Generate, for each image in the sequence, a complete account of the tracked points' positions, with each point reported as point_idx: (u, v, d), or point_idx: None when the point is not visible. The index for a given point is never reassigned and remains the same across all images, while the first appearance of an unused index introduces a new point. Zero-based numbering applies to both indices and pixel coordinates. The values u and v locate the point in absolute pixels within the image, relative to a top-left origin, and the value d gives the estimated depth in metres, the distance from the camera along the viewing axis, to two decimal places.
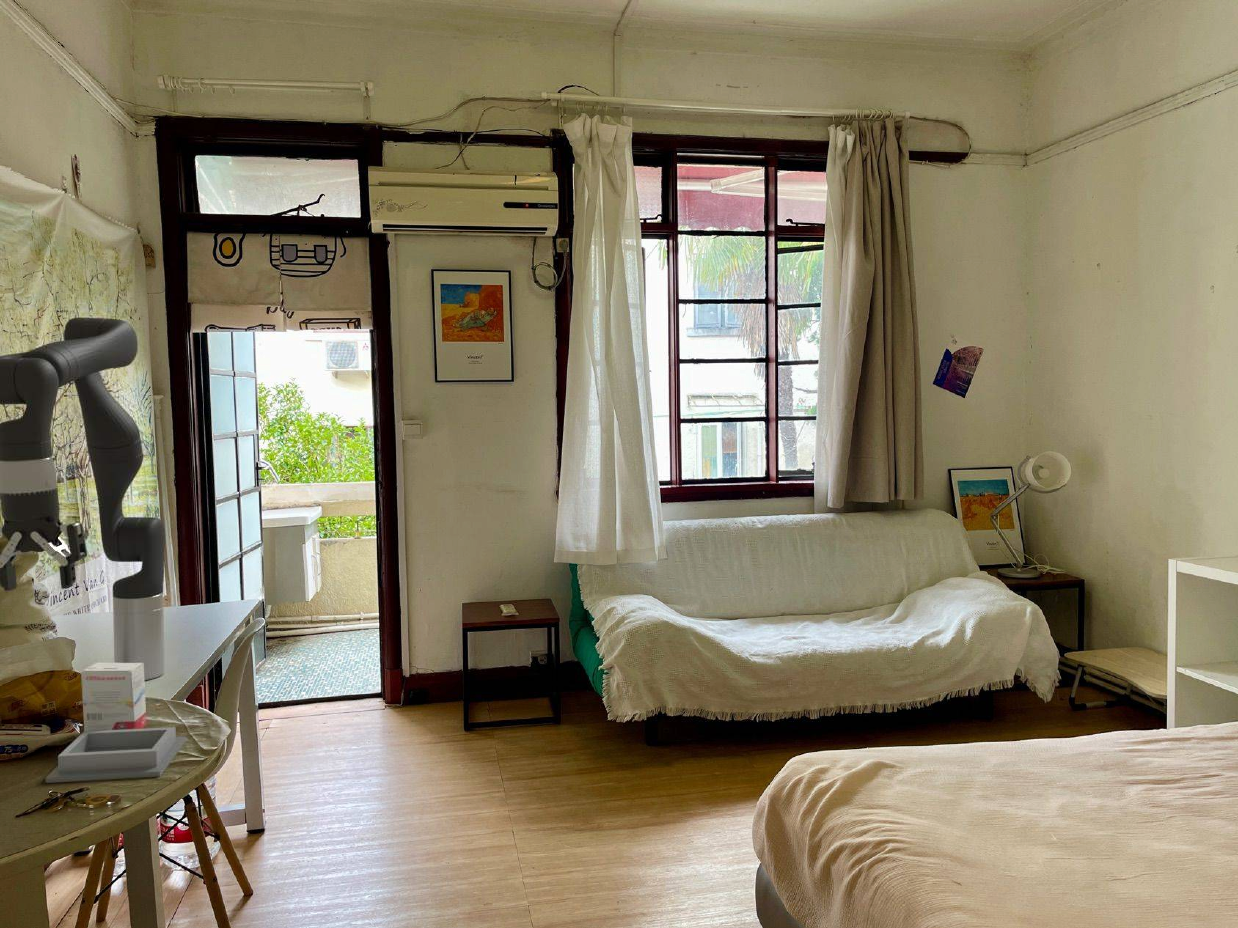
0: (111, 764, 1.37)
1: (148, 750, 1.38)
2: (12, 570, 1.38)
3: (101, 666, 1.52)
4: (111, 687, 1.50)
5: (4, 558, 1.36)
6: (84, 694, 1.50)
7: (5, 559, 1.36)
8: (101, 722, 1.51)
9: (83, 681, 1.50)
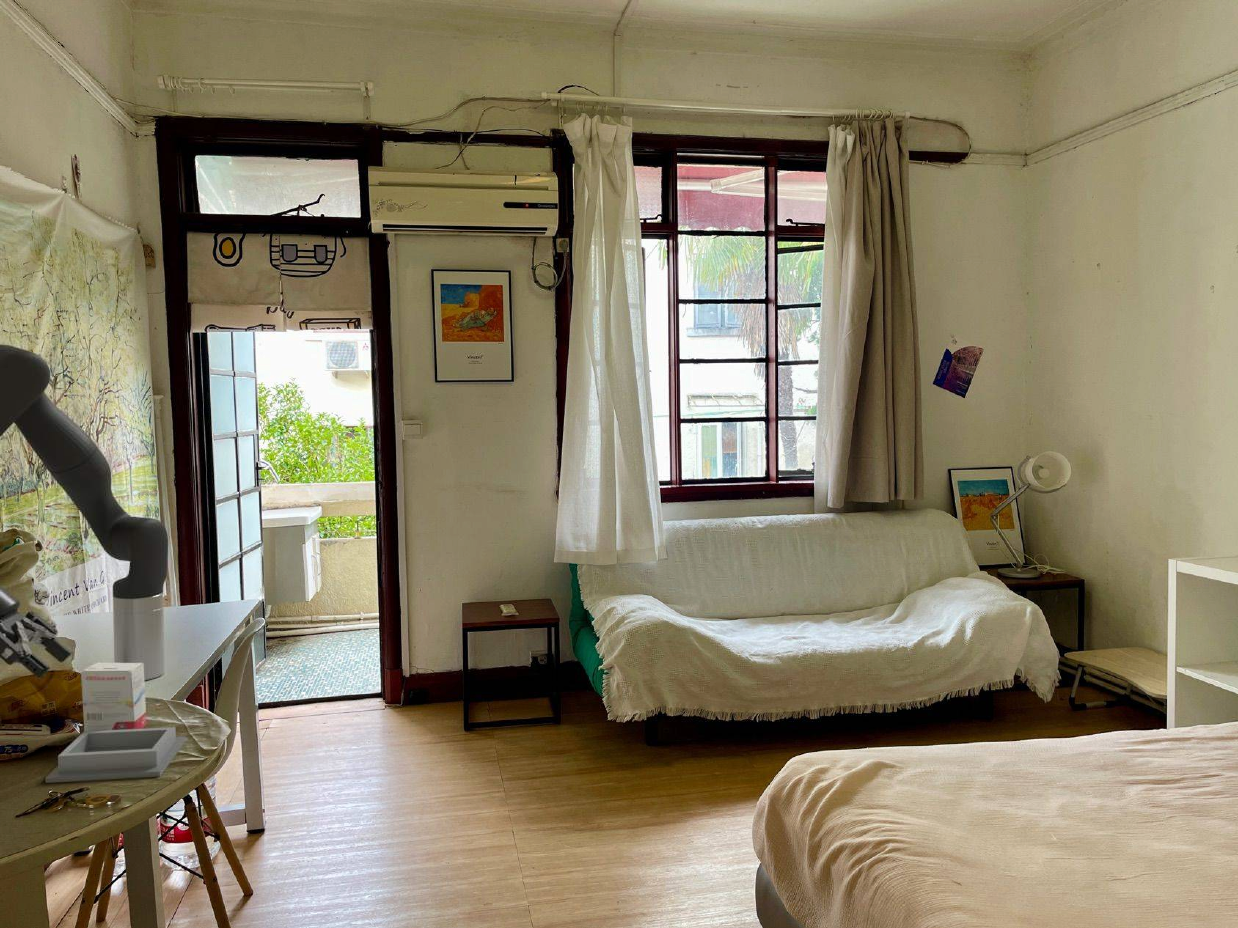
0: (111, 764, 1.37)
1: (148, 750, 1.38)
2: (54, 645, 1.54)
3: (101, 666, 1.52)
4: (111, 687, 1.50)
5: None
6: (84, 694, 1.50)
7: None
8: (101, 722, 1.51)
9: (83, 681, 1.50)
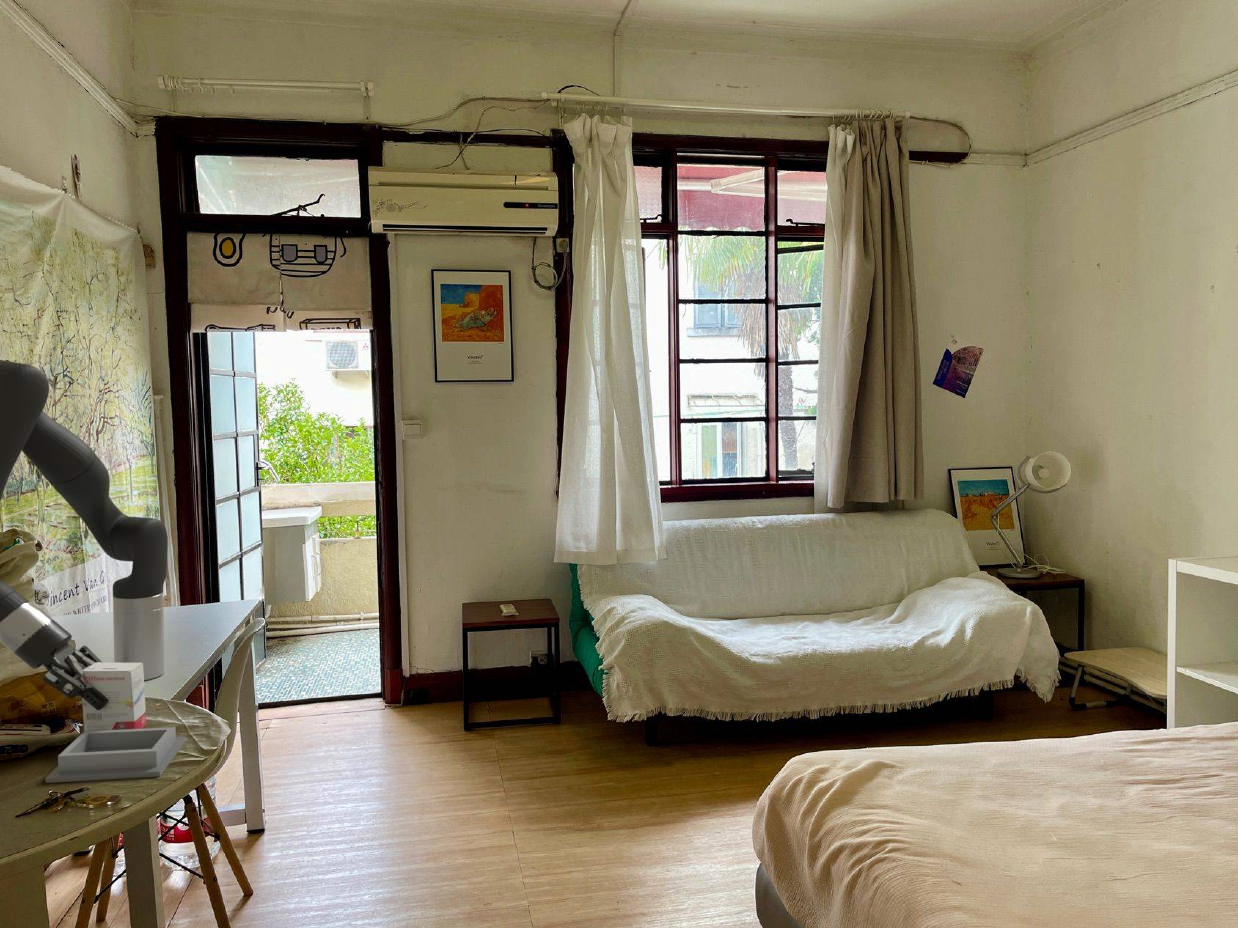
0: (111, 764, 1.37)
1: (148, 750, 1.38)
2: None
3: (100, 666, 1.52)
4: (111, 687, 1.50)
5: None
6: None
7: None
8: (101, 722, 1.51)
9: None
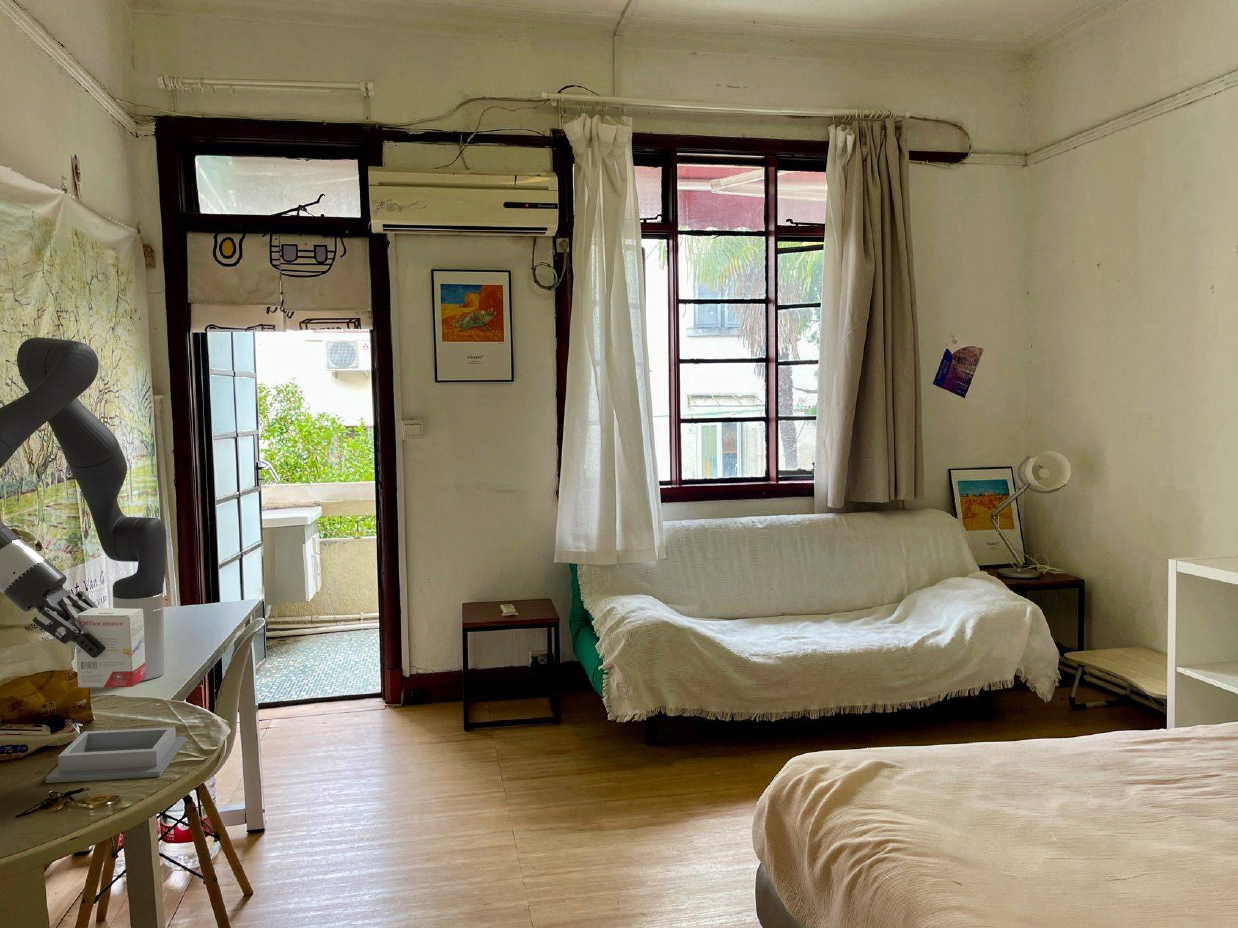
0: (111, 764, 1.37)
1: (148, 750, 1.38)
2: None
3: (97, 611, 1.40)
4: (107, 633, 1.38)
5: None
6: None
7: None
8: (97, 671, 1.38)
9: None
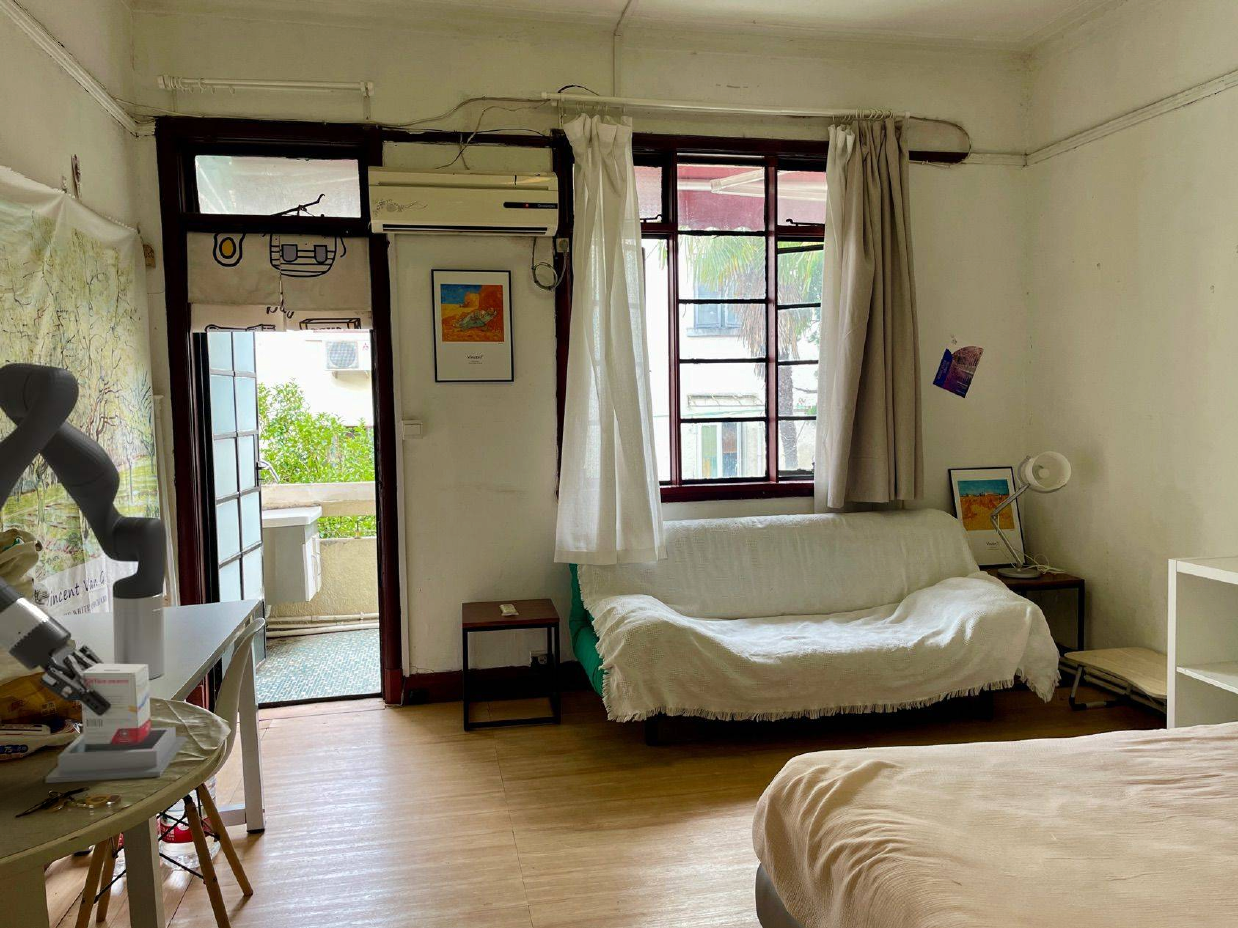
0: (111, 764, 1.37)
1: (148, 750, 1.38)
2: None
3: (102, 668, 1.40)
4: (113, 691, 1.38)
5: None
6: None
7: None
8: (102, 728, 1.38)
9: None
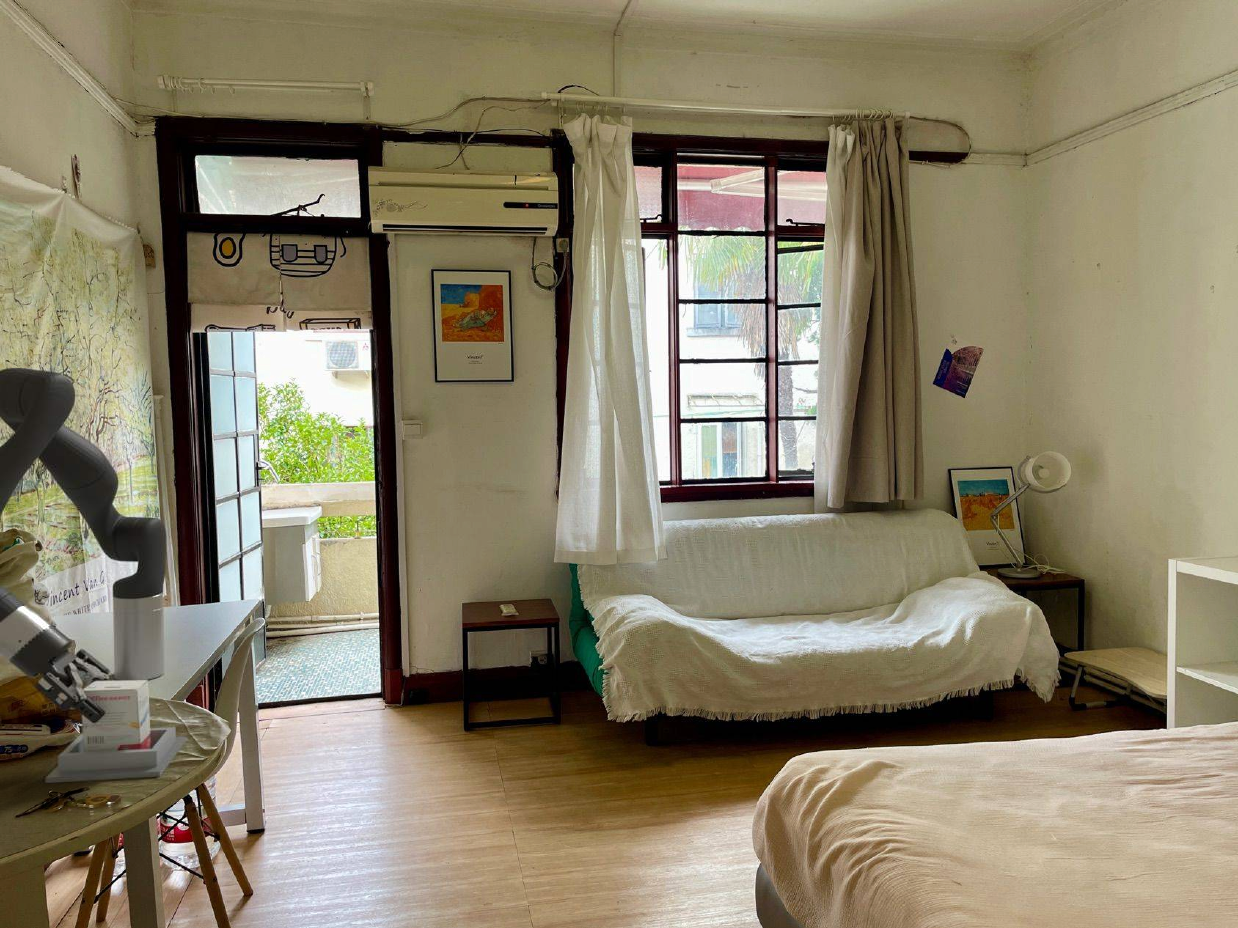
0: (111, 764, 1.37)
1: (148, 750, 1.38)
2: None
3: (102, 685, 1.40)
4: (115, 707, 1.39)
5: None
6: (84, 716, 1.38)
7: None
8: (104, 745, 1.39)
9: None
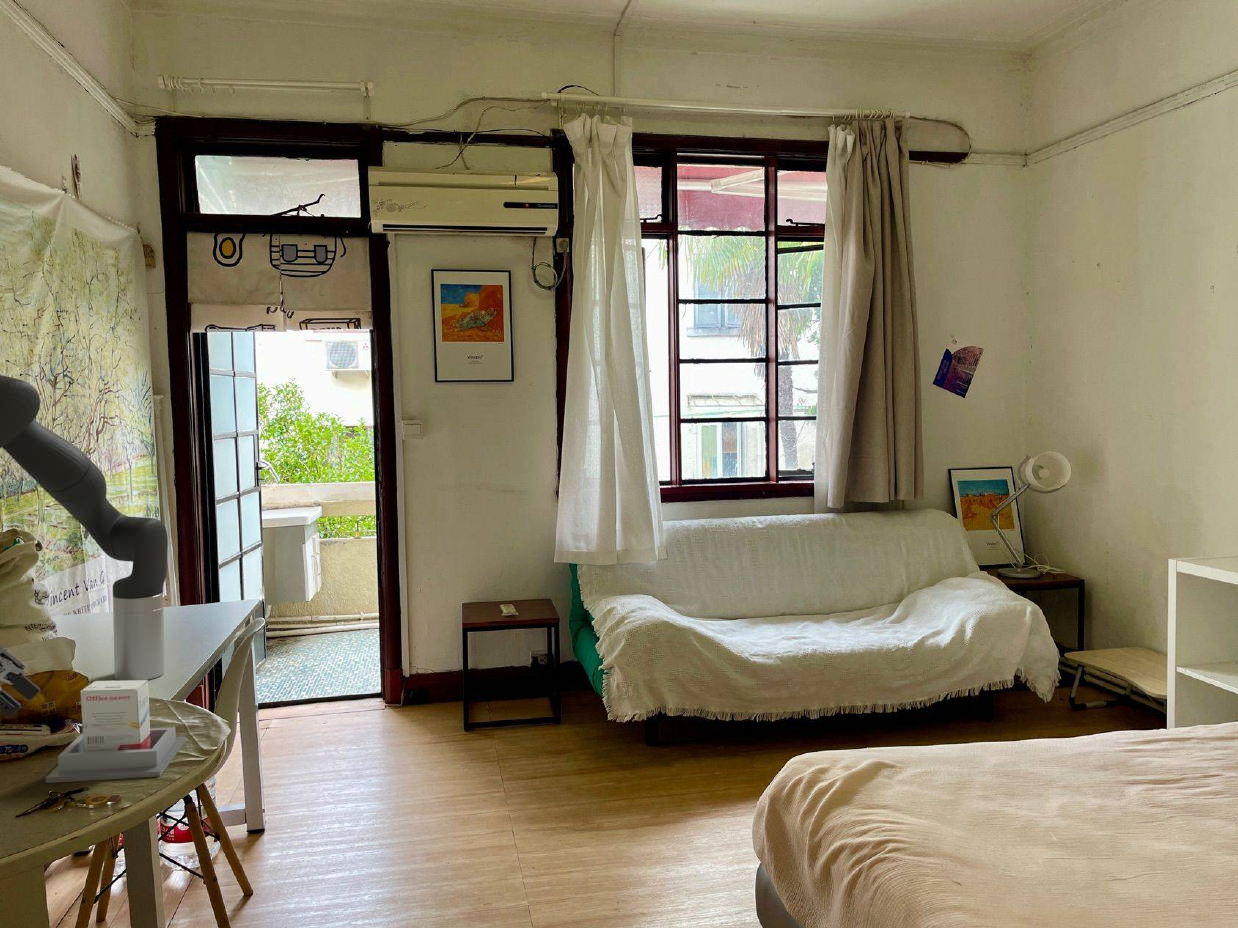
0: (111, 764, 1.37)
1: (148, 750, 1.38)
2: (22, 681, 1.42)
3: (102, 685, 1.40)
4: (115, 707, 1.39)
5: None
6: (84, 716, 1.38)
7: None
8: (104, 745, 1.39)
9: (83, 702, 1.38)
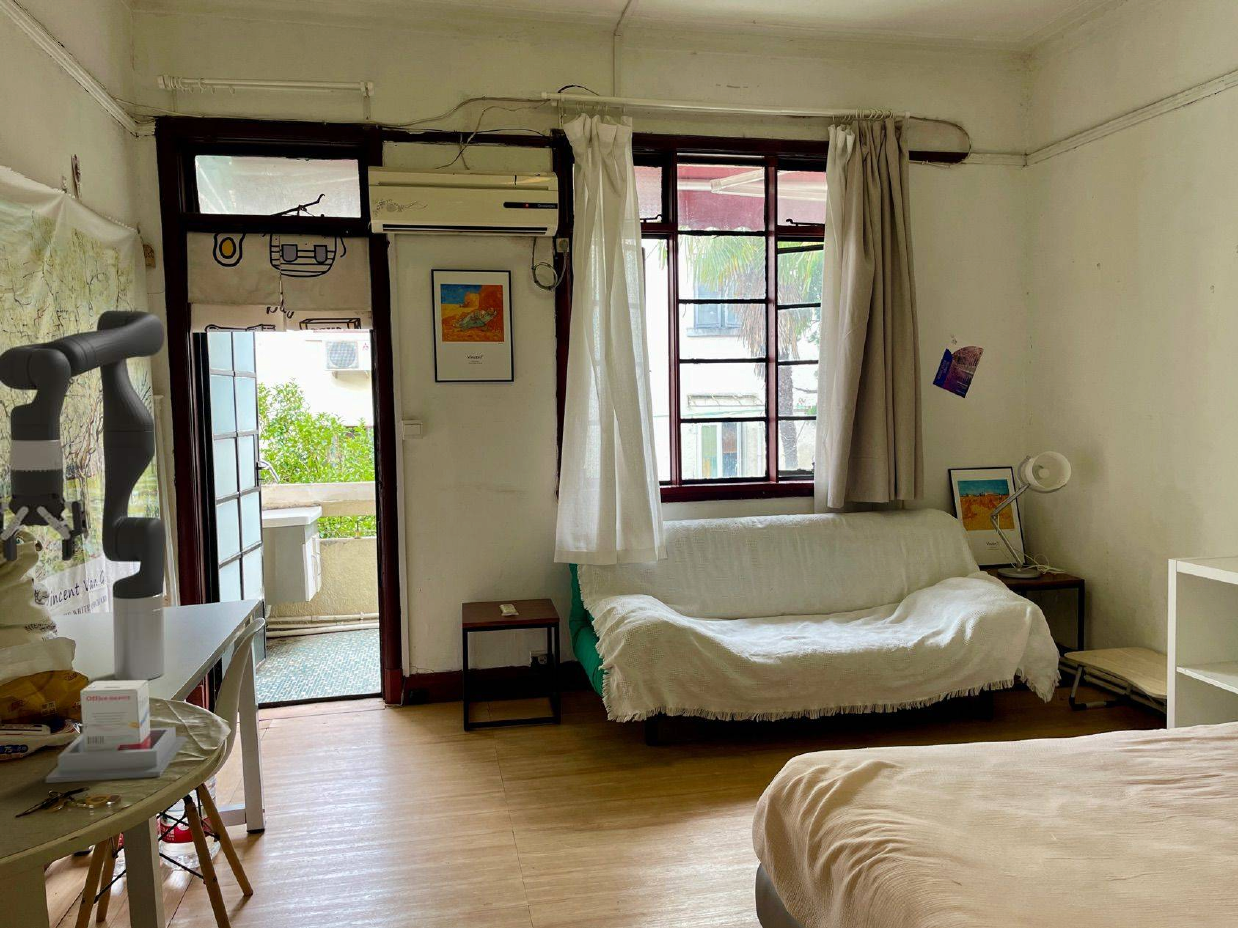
0: (111, 764, 1.37)
1: (148, 750, 1.38)
2: (14, 543, 1.50)
3: (102, 685, 1.40)
4: (115, 707, 1.39)
5: (9, 531, 1.48)
6: (84, 716, 1.38)
7: (10, 532, 1.48)
8: (104, 745, 1.39)
9: (83, 702, 1.38)
